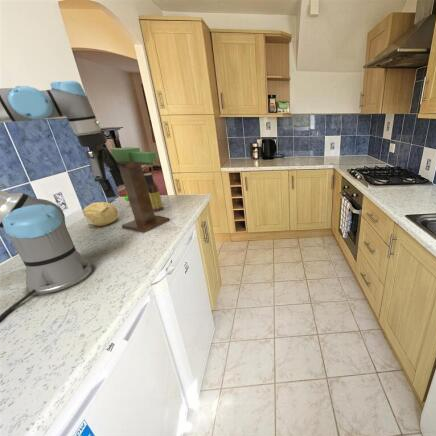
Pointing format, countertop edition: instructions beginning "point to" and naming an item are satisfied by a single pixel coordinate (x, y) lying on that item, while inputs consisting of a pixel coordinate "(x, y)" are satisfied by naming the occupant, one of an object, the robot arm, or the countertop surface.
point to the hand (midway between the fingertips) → (116, 190)
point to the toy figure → (133, 155)
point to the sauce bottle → (153, 192)
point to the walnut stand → (139, 198)
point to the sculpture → (100, 213)
